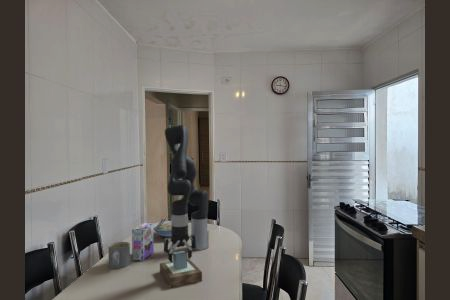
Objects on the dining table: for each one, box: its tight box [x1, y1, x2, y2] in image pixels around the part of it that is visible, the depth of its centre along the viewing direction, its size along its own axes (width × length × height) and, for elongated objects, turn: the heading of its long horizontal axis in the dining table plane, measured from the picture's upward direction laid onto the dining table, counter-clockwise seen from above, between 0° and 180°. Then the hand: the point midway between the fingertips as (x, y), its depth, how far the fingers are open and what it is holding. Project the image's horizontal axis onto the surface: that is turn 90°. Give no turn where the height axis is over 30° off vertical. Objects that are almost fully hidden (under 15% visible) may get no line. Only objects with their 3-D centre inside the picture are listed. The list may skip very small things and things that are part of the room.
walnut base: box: [159, 258, 203, 288], centre depth 138 cm, size 14×18×4 cm
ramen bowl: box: [153, 218, 172, 239], centre depth 201 cm, size 25×23×8 cm
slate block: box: [172, 250, 188, 270], centre depth 138 cm, size 5×5×6 cm
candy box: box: [131, 222, 155, 262], centre depth 164 cm, size 14×6×16 cm, turn 168°
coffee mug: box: [108, 241, 131, 270], centre depth 150 cm, size 13×10×10 cm
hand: (180, 259), depth 138 cm, fingers open, 8 cm apart
